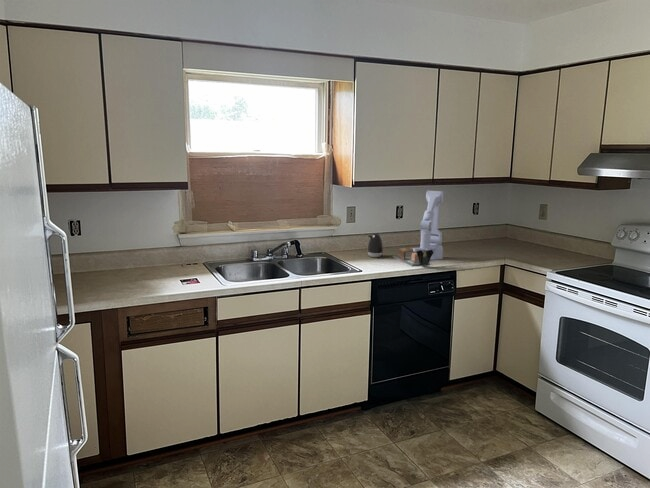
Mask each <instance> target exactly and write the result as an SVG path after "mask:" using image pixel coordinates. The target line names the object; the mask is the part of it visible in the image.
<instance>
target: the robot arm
mask: <svg viewBox="0 0 650 488" xmlns="http://www.w3.org/2000/svg"><path fill="white" fill-rule="evenodd" d="M444 196H445V195H444V191H443V190H440V191H439V190H429V189H428V190H426V193H425V200H426V202H427V208H426V210H424V213H423V217H422V220H421V221H420V224H419V229H420V231H419V233H420V246H418V247H415V248H413V251H414V252H416V253H417V255H418V258H419V263H421V264H422V260H423V256H424V255H425V256H428V257H429V258H428V263H430V261H433V260H444V258H443V257H444V247H443V245H442V243H443V233H442V231H440V229H439V218H440V217H439V214H440V207H441V204H444ZM413 251H412V252H413ZM424 252H425V253H424Z"/></svg>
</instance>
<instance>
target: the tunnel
mask: <svg viewBox="0 0 650 488" xmlns="http://www.w3.org/2000/svg"><path fill="white" fill-rule="evenodd" d="M413 248H416V247H413V246H411V247H399V248H398V250H397V255H398V258H400V259H402V260H405V255H407V253H409V252H412V253H416V252H414V251H413ZM406 252H407V253H406Z"/></svg>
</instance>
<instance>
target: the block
mask: <svg viewBox="0 0 650 488" xmlns="http://www.w3.org/2000/svg"><path fill="white" fill-rule="evenodd" d="M411 255H412V258H411V259H412V260H414V261H418V260H419V258H418V255H417V253H413V252H412V253H411Z"/></svg>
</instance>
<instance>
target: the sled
mask: <svg viewBox="0 0 650 488" xmlns="http://www.w3.org/2000/svg"><path fill="white" fill-rule="evenodd" d="M428 258H429V257H428V256H426V255H423V260H422V264H421V263H419V260H418V261H414V260H412V259H408V260H409V261H411V262H413V263H419V264H420V265H421V266H429V265H428Z"/></svg>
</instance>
